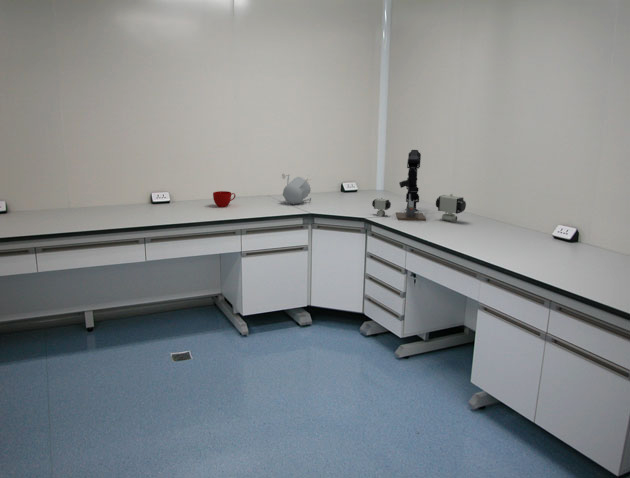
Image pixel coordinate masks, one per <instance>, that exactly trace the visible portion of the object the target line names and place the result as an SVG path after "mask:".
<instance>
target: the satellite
mask: <svg viewBox="0 0 630 478" xmlns="http://www.w3.org/2000/svg"><path fill="white" fill-rule="evenodd" d="M307 176H308V177H307V178H306V179H305V178H303V177H301V176H296V177H295V178H293V179H292V180H291V181H290V174H288V175H287V174H286V175H285V173H282V174H281V177H282V179H283V180H285V179H286V177H287V182H286V186H284V188H283V192H282V196H283V198H284V200H285V201H286V202H287V203H289V204H291V205H298V204H300V203H303V202H307V201H309V203H308V204H309V205H310V204H311V201H312V197H310V198H307V197H308V196H309V194H310V193H311V186H310V184H309V182H310V183H311V180H310V178H309V177H310V176H309V175H307ZM289 181H290V182H289ZM306 198H307V199H306Z"/></svg>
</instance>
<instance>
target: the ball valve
mask: <svg viewBox="0 0 630 478" xmlns="http://www.w3.org/2000/svg"><path fill="white" fill-rule="evenodd" d="M435 206H436V208H437V211H439V212H444V214H442V215H441V219H442V220H443V221H446V222H450V221H451V223H456V222H457V221H458V214H461V213H463V212H464V211H465V210H466V207H467V203H466V200H465V199H464V197H461V196H455V195H453V194H452V193H451V194H449V195H447V194H443V195H440V196H438V197H437V198H436V200H435ZM455 214H457V215H455Z"/></svg>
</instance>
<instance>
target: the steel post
mask: <svg viewBox="0 0 630 478" xmlns="http://www.w3.org/2000/svg"><path fill="white" fill-rule="evenodd" d="M408 208H414V200H413V201H411V195H410V194H409V206H408Z"/></svg>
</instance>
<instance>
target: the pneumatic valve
mask: <svg viewBox="0 0 630 478" xmlns="http://www.w3.org/2000/svg"><path fill="white" fill-rule="evenodd" d="M371 205H372V207H373V209H374V210H377V211H376V214H377V216H379V217H383V216H385V215H386V212H385V211H387V210H389V209H391V207H392V206H391V205H392V203H391V201H390V199H386V198H385V199H384V198H383V197H381V198H375V199H374V200H372V203H371Z"/></svg>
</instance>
